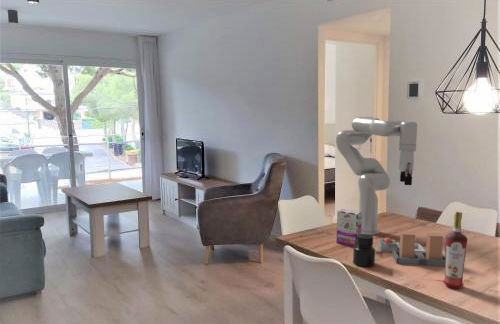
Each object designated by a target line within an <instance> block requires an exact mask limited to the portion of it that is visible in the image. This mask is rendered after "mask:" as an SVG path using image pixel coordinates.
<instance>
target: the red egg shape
mask: <svg viewBox="0 0 500 324" xmlns="http://www.w3.org/2000/svg"><path fill="white" fill-rule="evenodd" d="M384 239H385V240H384V243H391V239H392V238H390V237H384Z"/></svg>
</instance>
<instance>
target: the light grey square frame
mask: <svg viewBox="0 0 500 324" xmlns="http://www.w3.org/2000/svg"><path fill="white" fill-rule="evenodd" d="M396 243H397V251H400V242H396ZM414 252H426V249H424V247H423V246H422V245H421V243H415V250H414Z"/></svg>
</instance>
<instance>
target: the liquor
mask: <svg viewBox="0 0 500 324" xmlns="http://www.w3.org/2000/svg"><path fill="white" fill-rule="evenodd" d="M462 218H463V212H461V211H454V212H453V225H452V230H451V232H449V233H447V234H445V236H444V238H445V239H444V240H445V245H444V255H445V266H444V279H443V280H442V283H444V284H445V286H447V288H450V289H454V290H456V289H460V288H462V287H463V286H464V282H463V278H464V271H465V270H464V269H465V268H464V267H465V263H466V262H465V260H466V255H467V245H468V239H469V238H468V237H467V236H466V235H465V234H462Z"/></svg>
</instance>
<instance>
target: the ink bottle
mask: <svg viewBox="0 0 500 324" xmlns="http://www.w3.org/2000/svg"><path fill="white" fill-rule="evenodd" d="M356 242H357V243H356V244H357V245H356V246H355V247H353V253H352V254H353V255H352V257H353V259H352V262H353V264H354V265H356V266H360V267H361V268H362V267H363V268H369V267H373V266H375V263H376V249H375V247H374V246H373V245H374V235H368V234H359V235H357V239H356Z"/></svg>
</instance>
